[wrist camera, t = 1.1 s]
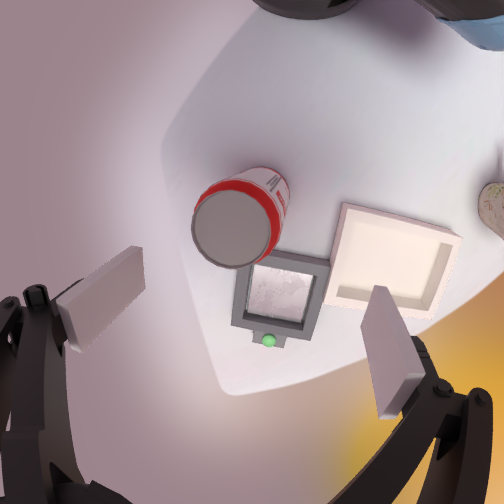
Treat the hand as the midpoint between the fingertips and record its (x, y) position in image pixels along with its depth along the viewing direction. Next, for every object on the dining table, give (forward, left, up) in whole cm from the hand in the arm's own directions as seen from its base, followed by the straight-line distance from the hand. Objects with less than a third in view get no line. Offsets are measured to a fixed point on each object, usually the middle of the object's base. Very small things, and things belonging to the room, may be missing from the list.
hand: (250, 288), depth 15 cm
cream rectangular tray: (+3, +15, -19) cm, 24 cm away
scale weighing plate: (+10, +2, -20) cm, 22 cm away
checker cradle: (+11, +2, -19) cm, 22 cm away
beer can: (-2, -2, -19) cm, 19 cm away
